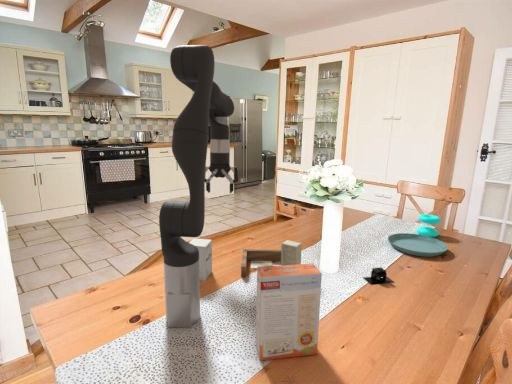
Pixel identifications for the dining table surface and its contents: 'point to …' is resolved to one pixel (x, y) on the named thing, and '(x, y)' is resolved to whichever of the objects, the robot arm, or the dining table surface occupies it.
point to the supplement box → (204, 256)
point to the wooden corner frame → (259, 258)
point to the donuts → (428, 230)
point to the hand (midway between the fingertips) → (219, 192)
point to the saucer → (417, 244)
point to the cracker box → (287, 310)
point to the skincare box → (291, 253)
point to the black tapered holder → (378, 277)
